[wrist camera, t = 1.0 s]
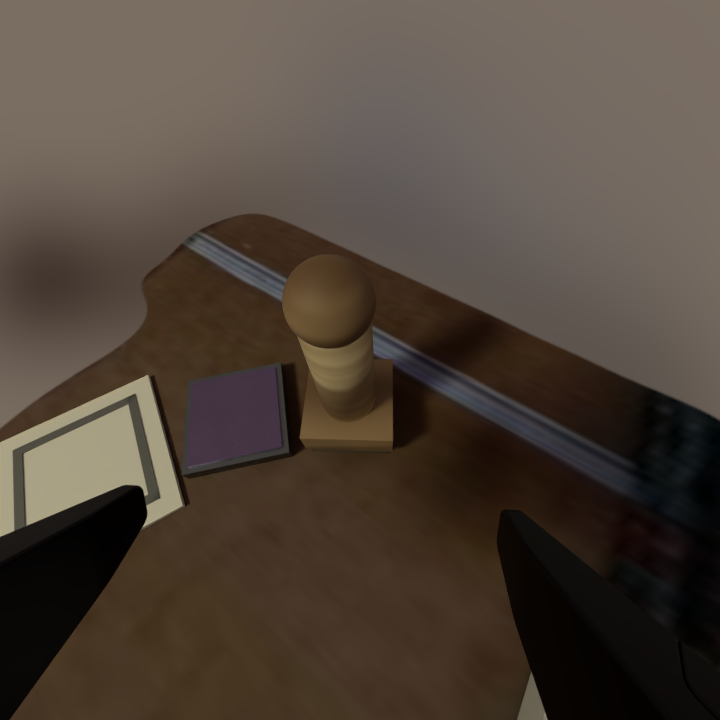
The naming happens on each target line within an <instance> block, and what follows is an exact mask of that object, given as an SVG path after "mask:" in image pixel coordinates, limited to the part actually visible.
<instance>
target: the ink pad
mask: <svg viewBox="0 0 720 720" xmlns="http://www.w3.org/2000/svg"><path fill="white" fill-rule="evenodd" d="M292 456H293V455H292V445H291V435H290V425H289V415H288V405H287V395H286V385H285V375H284V368H283V366H282V364H281V362H280V363H275V364H270V365H265V366H260V367H255V368H250V369H245V370H240V371H235V372H230V373H225V374H220V375H215V376H210V377H205V378H200V379H195V380H190V381H188V386H187V401H186V416H185V431H184V446H183V461H182V476H184V477H187V478H189V479H190V478H194V477H199V476H204V475H208V474H213V473H218V472H222V471H227V470H232V469H236V468H241V467H246V466H250V465H255V464H260V463H264V462H269V461H273V460H278V459H283V458H287V457H292Z"/></svg>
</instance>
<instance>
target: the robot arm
mask: <svg viewBox="0 0 720 720" xmlns="http://www.w3.org/2000/svg"><path fill="white" fill-rule="evenodd" d="M147 513H148V512H147V506H146V501H145V496H144V491H143V489H142V487H140V486H138V485H122V486H120V487H118V488H115V489H113V490H110V491H108V492H106V493H103V494H101V495H98V496H96V497H94V498H91V499H89V500H87V501H84V502H82V503H79V504H77V505H75V506H72V507H70V508H68V509H65V510H63V511H60V512H58V513H56V514H53V515H51V516H48V517H46V518H44V519H41V520H39V521H37V522H34V523H32V524H29V525H27V526H25V527H22V528H20V529H18V530H15V531H13V532H10V533H8V534H6V535H3V536H1V537H0V720H10V718H11V717H12V716H13V714H14V713H15V711H16V710H17V709H18V707H19V706H20V705H21V703H22V702H23V700H24V699H25V698H26V696H27V695H28V693H29V692H30V691H31V689H32V688H33V687H34V685H35V684H36V682H37V681H38V680H39V678H40V677H41V675H42V674H43V673H44V671H45V670H46V669H47V667H48V666H49V664H50V663H51V662H52V660H53V659H54V658H55V656H56V655H57V653H58V652H59V651H60V649H61V648H62V646H63V645H64V644H65V642H66V641H67V640H68V638H69V637H70V635H71V634H72V633H73V631H74V630H75V628H76V627H77V626H78V624H79V623H80V622H81V620H82V619H83V617H84V616H85V615H86V613H87V612H88V610H89V609H90V608H91V606H92V605H93V604H94V602H95V601H96V599H97V598H98V597H99V595H100V594H101V593H102V591H103V590H104V588H105V587H106V585H107V584H108V582H109V581H110V579H111V578H112V576H113V575H114V573H115V571H116V570H117V568H118V567H119V565H120V563H121V562H122V560H123V558H124V557H125V555H126V553H127V552H128V550H129V548H130V547H131V545H132V543H133V542H134V540H135V538H136V537H137V535H138V534H139V532H140V530H141V529H142V527H143V525H144V524H145V522H146V519H147ZM497 547H498V552H499V557H500V561H501V565H502V570H503V574H504V578H505V583H506V587H507V592H508V596H509V600H510V605H511V609H512V613H513V617H514V620H515V624H516V627H517V630H518V633H519V636H520V639H521V642H522V645H523V648H524V651H525V654H526V657H527V660H528V663H529V666H530V669H531V672H532V675H533V678H534V681H535V684H536V687H537V690H538V693H539V696H540V699H541V702H542V705H543V708H544V711H545V714H546V716H547V719H548V720H720V672H719V671H718V670H717V669H715V668H714V667H713V666H712V665H710V664H709V663H708V662H707V661H705V660H704V659H703V658H702V657H700V656H699V655H698V654H697V653H696V652H694V651H693V650H692V649H691V648H689V647H688V646H687V645H686V644H684V643H683V642H681V641H679V642H678V639H677V638H676V636H674V635H673V634H672V633H671V632H669V631H668V630H667V629H666V628H664V627H663V626H662V625H661V624H660V623H658V622H657V621H656V620H655V619H653V618H652V617H651V616H650V615H648V614H647V613H646V612H645V611H644V610H642V609H641V608H640V607H639V606H637V605H636V604H635V603H634V602H632V601H631V600H630V599H629V598H628V597H626V596H625V595H624V594H623V593H621V592H620V591H619V590H618V589H616V588H615V587H614V586H613V585H612V584H610V583H609V582H608V581H607V580H605V579H604V578H603V577H602V576H600V575H599V574H598V573H597V572H596V571H594V570H593V569H592V568H591V567H589V566H588V565H587V564H586V563H584V562H583V561H582V560H581V559H579V558H578V557H577V556H576V555H575V554H573V553H572V552H571V551H570V550H568V549H567V548H566V547H565V546H563V545H562V544H561V543H560V542H559V541H557V540H556V539H555V538H554V537H552V536H551V535H550V534H549V533H547V532H546V531H545V530H544V529H543V528H541V527H540V526H539V525H538V524H536V523H535V522H534V521H533V520H531V519H530V518H529V517H528V516H527V515H525V514H524V513H523V512H521V511H519V510H507V509H504V510H502V511H501V514H500V520H499V527H498V534H497Z"/></svg>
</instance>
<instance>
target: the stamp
mask: <svg viewBox="0 0 720 720" xmlns="http://www.w3.org/2000/svg"><path fill="white" fill-rule="evenodd" d="M282 305H283V312H284V316H285V318H286V321H287V323H288V325H289V326H290V328H291V329H292V331H293V332H294V333H295V334H296V335H297V336H298V339H299V342H300V344H301V347H302V350H303V352H304V355H305V358H306V361H307V363H308V366H309V374H308V381H307V388H306V396H305V403H304V410H303V417H302V425H301V432H300V440H301V441H302V443H303V444H304V446H305V448H306V449H312V450H313V451H346V452H379V453H389V452H392V447H393V360H388V359H374V354H373V332H372V320H373V317H374V314H375V309H376V295H375V290H374V287H373V284H372V282H371V280H370V278H369V277H368V275H367V274H366V272H365V271H364V270H363V269H362V268H361V267H360V266H359V265H358V264H356V263H355V262H353V261H352V260H350V259H348V258H345V257H343V256H339V255H333V254H324V255H318V256H314V257H311V258H309V259H307V260H305V261H304V262H302V263H301V264H300V265H298V266H297V267H296V268H295V269H294V270H293V271H292V273H291V274H290V276H289V277H288V279H287V281H286V284H285V287H284V290H283V297H282Z"/></svg>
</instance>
